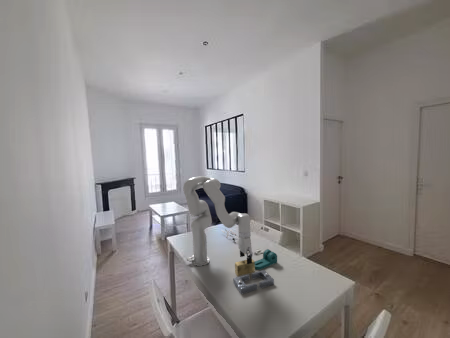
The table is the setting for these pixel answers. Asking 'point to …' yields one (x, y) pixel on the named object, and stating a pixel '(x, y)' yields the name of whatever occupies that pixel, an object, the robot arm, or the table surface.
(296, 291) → the table surface
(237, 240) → the miniature set
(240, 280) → the grey pocketed fixture tray
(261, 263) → the bracket
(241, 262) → the yellow rectangular block
